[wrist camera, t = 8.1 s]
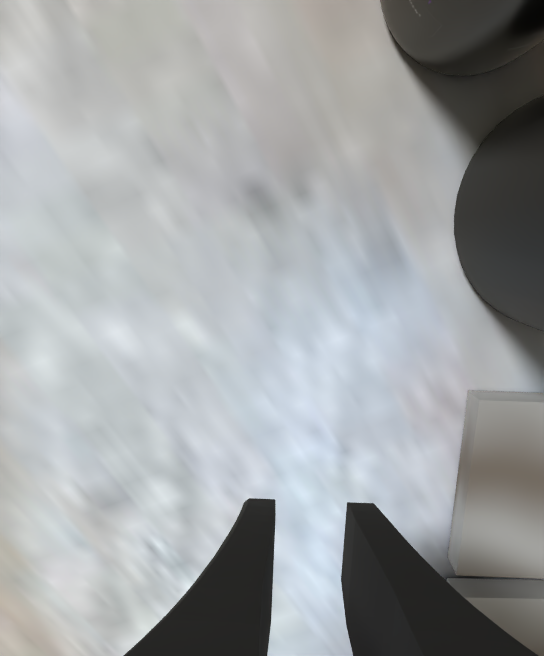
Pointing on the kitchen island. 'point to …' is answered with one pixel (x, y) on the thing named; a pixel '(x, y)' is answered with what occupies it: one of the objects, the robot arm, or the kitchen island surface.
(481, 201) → the mug
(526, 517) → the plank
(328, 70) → the kitchen island surface
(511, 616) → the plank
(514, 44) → the supplement bottle
